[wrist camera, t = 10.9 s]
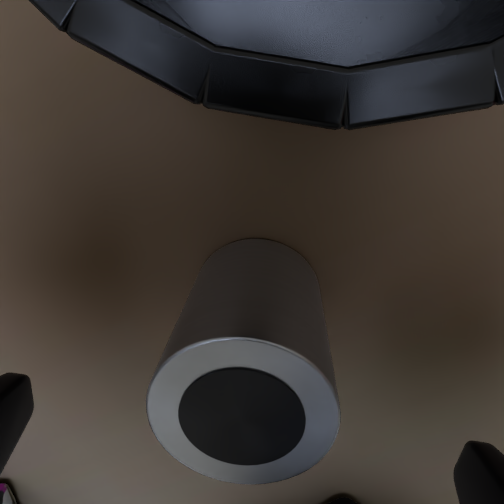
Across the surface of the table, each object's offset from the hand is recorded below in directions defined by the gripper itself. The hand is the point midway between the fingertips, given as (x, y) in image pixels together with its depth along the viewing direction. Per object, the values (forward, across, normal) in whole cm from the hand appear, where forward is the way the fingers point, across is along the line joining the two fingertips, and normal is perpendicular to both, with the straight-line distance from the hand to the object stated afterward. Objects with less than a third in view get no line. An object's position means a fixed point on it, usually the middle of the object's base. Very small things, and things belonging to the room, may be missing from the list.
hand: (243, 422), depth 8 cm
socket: (+5, 0, 0) cm, 5 cm away
